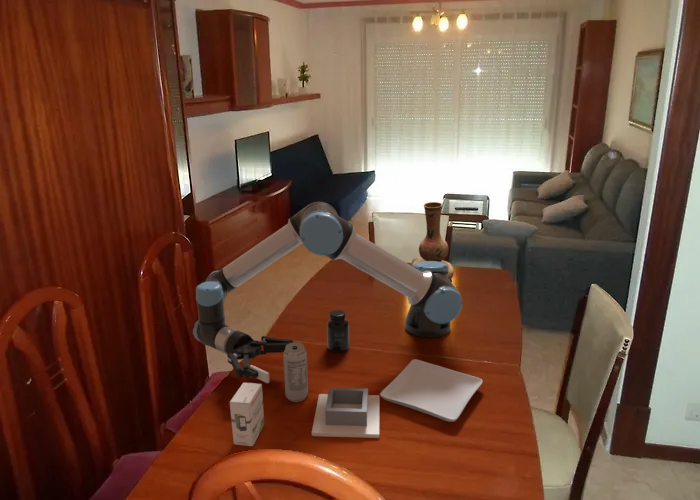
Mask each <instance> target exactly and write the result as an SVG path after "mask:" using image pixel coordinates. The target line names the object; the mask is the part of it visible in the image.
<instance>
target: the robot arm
mask: <svg viewBox="0 0 700 500" xmlns="http://www.w3.org/2000/svg"><path fill="white" fill-rule="evenodd" d="M355 228H356V227H355V225H354V224H352V223H350V222H349V221H348V220H346V219H344V218H342V217H340V216H339V214H338V212H337V210H336V209H335V208H334V207H333V206H332V205H331V204H329V203H327V202H324V201H314V202H311V203H309V204H308V205H307V204H306V206H305V207H303V208H302V209H300V210H299V211H298V212H297V213H296V214H294V215H293V216H291V217H290V218H288V221H287V224H285V225H284V226H282V227H281V228H279V229H278V230H277V231H275V232H274V233H272V234H271V235H269V236H268V237H266V238H265V239H263V240H262V241H260V242H259V243H257V244H256V245H254V246H253V247H252V248H250V249H249V250H247V251H246V252H244V253H243V254H241V255H240V256H239V257H237V258H236V259H234V260H233V261H231V262H229V264H227V265H226V266H224V267H223V268H221V269H220V270H214V271H212V272H211V273H210V274H209V275H208V276H207V278H206V279H205V281H203V282H201V283H200V284H198V285H197V286H196V287H195V300H196V307H197V313H198V320H197V321H196V322H194V323H195V324H194V327H193V329H192V335H193V337H194V339H195V340H197V341H198V342H200V343H201V344H203V345H204V346H206V347H207V346H208V347H210V348H213V349H214V350H217V351H219V352H221V353H223V354H225V355H227V357H226V358H227V363H229V364H230V365H231V366H232V368H233V371H234V373H235V374H236V376H237V377H236V378H239V379H241V378H243V376H244V378H245V379H249V378H250V377H251V378H253V379H257V380H260V381H262V382H264V383H266V384H269V383H270V372H268V371H266V370H264V369H261V368H259V367H257V366H255V365H253V364H250V359H254V358H257V356H261V355H267V354H270V353H271V354H275V353H277V354H279V353H281V354H282V353H283V352H284V350H285V346H286V345H287V344H289V343H292V342H294V339H289V338H277V337H270V336H269V337H268V336H266V335H262V336H261V338H260V340H254V339H253V338H252V336H250V334H248V333H245V332H243V331H240V330H238V329H236V328H234V327H232V326H229V325H227V324H226V316H225V302H226V299H227V295H228V294H230V293H231V292H233V291H234V290H236V289H237V288H238V287H240V286H242V285H243V284H244V283H246V282H247V281H248V280H250V279H252V278H253V277H255V276H256V275H258V274H259V273H261V272H262V271H263V270H265V269H267V268H268V267H269V266H271V265H273V264H275V262H277V261H278V260H280V259H281V258H283V257H284V256H286V255H287V254H289V253H290V252H291V251H294V250H295V249H297V248H298V247H299V246H301V245H303V246H304V248H305V249H306V250H307V251H309V253H312V254H314V255H317V256H323V257H324V256H325V257H327V258H329V259H330V260H333V261H335V260H336V261H337V260H339V259H340V260H343V261H345V262H346V263H349V264H350V265H352V266H353V267H354V268H357V269H358V270H360V271H362V272H363V273H365V274H367V275H369V276H371V277H372V278H374V279H376V280H378V281H379V282H381V283H382V284H385V285H386V286H387V287H390V288H392V290H395V291H397V292H398V293H400V294H401V295H404V296H405V297H406V298H407V303H408V304H410V307H409V309H408V311H407V314H406V318H405V322H404V328H405V330H406V331H407V332H408V333H409V334H412V335H413V336H416V337H421V338H426V339H427V338H428V339H429V338H430V339H431V338H432V339H433V338H440V337H444V336H445V335H448V333H450V331H451V322H452V321H454V320H455V319H457V317H458V316H459V314H461V312H462V309H463V298H462V295H461V293H460V291H459V289H458V288H457V287H455V286H454V283H452V282H451V281H450V280H449V279H448V271H449V270H448V266H447V264H445V263H443V262H437V261H422V262H417V263H415V264H414V265H413V266H412V264H409V263H407V262H405V261H404V260H402V259H400V258H399V257H397V256H395V255H393V254H392V253H390V252H389V251H387V250H386V249H384V248H382V247H381V246H378V245H377V244H375V243H374V242H372V241H370V240H368V239H367V238H365V237H363V236H362V235H360V234H359V233H357V231H356V229H355ZM262 348H263V350H262ZM239 360H240V361H241V360H243V367H242V366H241V364H240V362H239Z"/></svg>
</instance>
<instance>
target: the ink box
mask: <svg viewBox="0 0 700 500" xmlns="http://www.w3.org/2000/svg"><path fill="white" fill-rule="evenodd" d="M263 397H264V396H263V384H262V383H255V382H243V383H242V384H241V385H240V387H239V388H238V389H237V391H236V392H235V394H234V395H233V396H232V398H231V399H230V401H229V407H230V408H229V409H230V410H229V411H230V420H231V429H232V430H231V431H232V439H233V440H232V441H233V445H238V446H245V447H246V446H247V447H253V446H254V445H255V443H256V441H257V439H258V437H259V435H260V434H261V432H262V430H263V428H264V426H265V416H264V415H265V414H264V413H265V412H264V400H263Z"/></svg>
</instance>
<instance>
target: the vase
mask: <svg viewBox="0 0 700 500" xmlns="http://www.w3.org/2000/svg"><path fill="white" fill-rule="evenodd" d="M423 208H424V214H425V222H426V234H425V237H424V238H423V239H422V241H421V242H420V243H419V245H418V252H419V253H418V254H419V256H417V257H415V258H413V259H412V260H411V261H412V262H411V266H413V265H414V264H415V263H417V262H422V261H437V262H443V263H445V264H447V266H448V270H449V271H448V279H449V280H450V281H451V282H452V280H453V276H454V273H455V271H454V267H453V265H452V264H451V262H448V261H446V260H445V259H446V258H447V256H448V254H449V245H448V243H447V241H446V240H445V239H444V238H443V237H442V235H441V214H442V208H443V203H442V202H438V201H430V202H425V203H424V204H423Z"/></svg>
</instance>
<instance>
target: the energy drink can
mask: <svg viewBox="0 0 700 500" xmlns="http://www.w3.org/2000/svg"><path fill="white" fill-rule="evenodd" d="M282 354H283V355H282V357H283V373H284V391H285V392H284V393H285V394H284V395H285V397H286V398H287V399H288V400H289V401H290V402H293V403H298V402H302V401H304V400H306V398H307V396H308V394H309V384H308V383H309V381H308V357H307V356H308V355H307V354H308V353H307V349H306V348H305V345H304V344H303V343H302V342H298V341H297V342H296V341H293V342H292V343H289V344H287V345H286V346H285V350H284V352H282Z"/></svg>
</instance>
